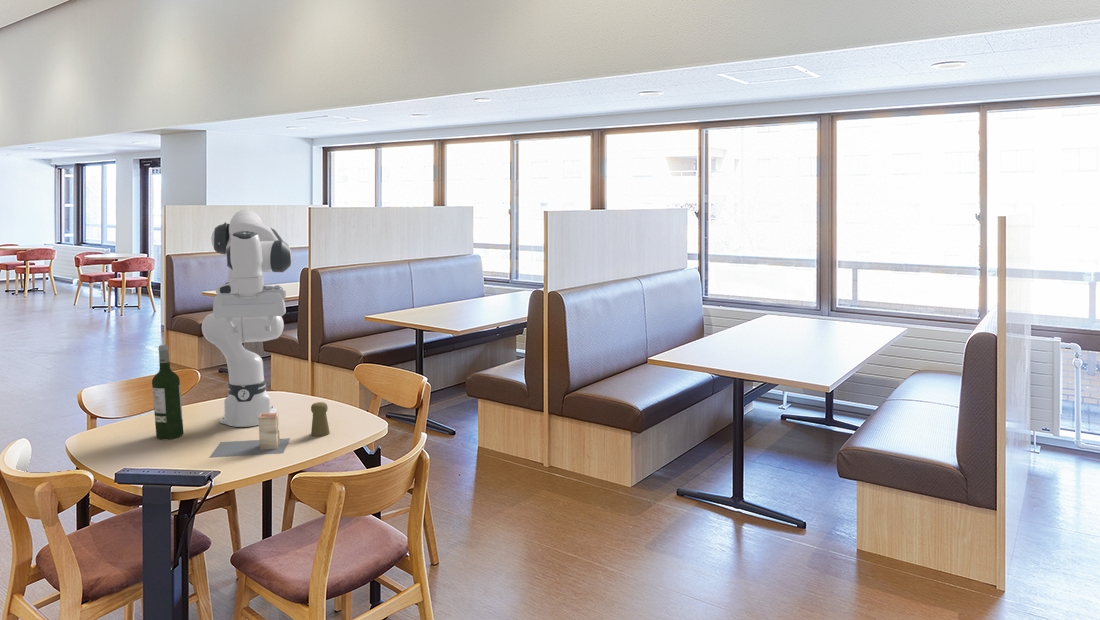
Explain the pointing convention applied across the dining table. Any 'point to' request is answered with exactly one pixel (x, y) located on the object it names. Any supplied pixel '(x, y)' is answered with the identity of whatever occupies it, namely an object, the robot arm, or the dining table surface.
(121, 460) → the dining table surface
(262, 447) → the pine block
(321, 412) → the cork
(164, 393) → the wine bottle
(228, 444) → the rubber mat
